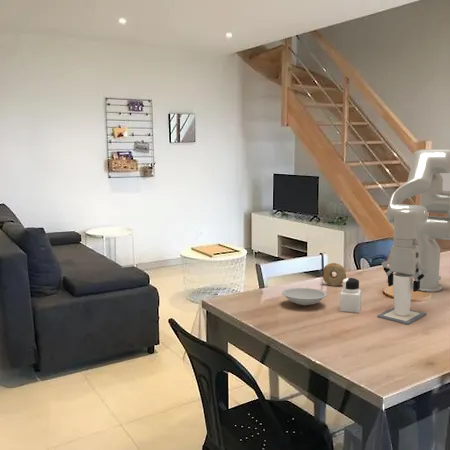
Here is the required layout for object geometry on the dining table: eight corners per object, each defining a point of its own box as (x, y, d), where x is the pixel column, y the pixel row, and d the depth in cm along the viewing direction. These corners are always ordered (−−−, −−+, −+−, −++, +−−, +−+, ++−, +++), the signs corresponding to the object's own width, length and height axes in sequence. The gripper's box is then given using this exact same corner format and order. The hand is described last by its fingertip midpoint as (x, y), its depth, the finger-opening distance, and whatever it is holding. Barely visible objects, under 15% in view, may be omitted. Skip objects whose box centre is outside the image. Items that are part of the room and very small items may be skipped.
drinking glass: (412, 317, 186) (414, 277, 183) (393, 316, 187) (394, 276, 184) (410, 311, 192) (411, 272, 190) (391, 310, 193) (392, 272, 191)
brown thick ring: (321, 285, 230) (321, 263, 229) (323, 283, 234) (323, 261, 232) (344, 287, 227) (345, 265, 225) (346, 285, 230) (346, 263, 228)
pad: (395, 307, 198) (395, 306, 198) (426, 314, 190) (426, 313, 190) (377, 317, 189) (377, 315, 189) (408, 324, 180) (408, 323, 180)
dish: (328, 301, 208) (329, 289, 207) (324, 313, 194) (324, 300, 194) (286, 298, 213) (286, 286, 213) (278, 309, 200) (278, 296, 199)
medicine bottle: (360, 307, 200) (361, 277, 198) (359, 313, 194) (359, 282, 192) (341, 305, 203) (342, 276, 201) (339, 311, 196) (340, 280, 194)
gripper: (432, 243, 181) (431, 290, 185) (387, 237, 194) (386, 281, 197) (423, 248, 176) (421, 295, 180) (377, 241, 189) (376, 285, 192)
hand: (403, 288), depth 188 cm, fingers open, 9 cm apart
